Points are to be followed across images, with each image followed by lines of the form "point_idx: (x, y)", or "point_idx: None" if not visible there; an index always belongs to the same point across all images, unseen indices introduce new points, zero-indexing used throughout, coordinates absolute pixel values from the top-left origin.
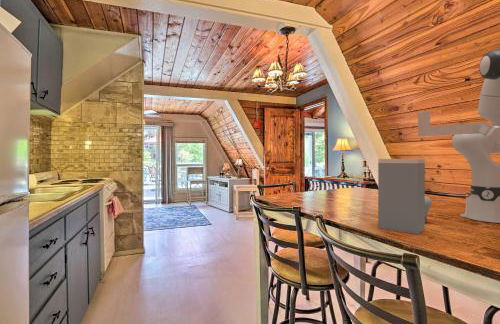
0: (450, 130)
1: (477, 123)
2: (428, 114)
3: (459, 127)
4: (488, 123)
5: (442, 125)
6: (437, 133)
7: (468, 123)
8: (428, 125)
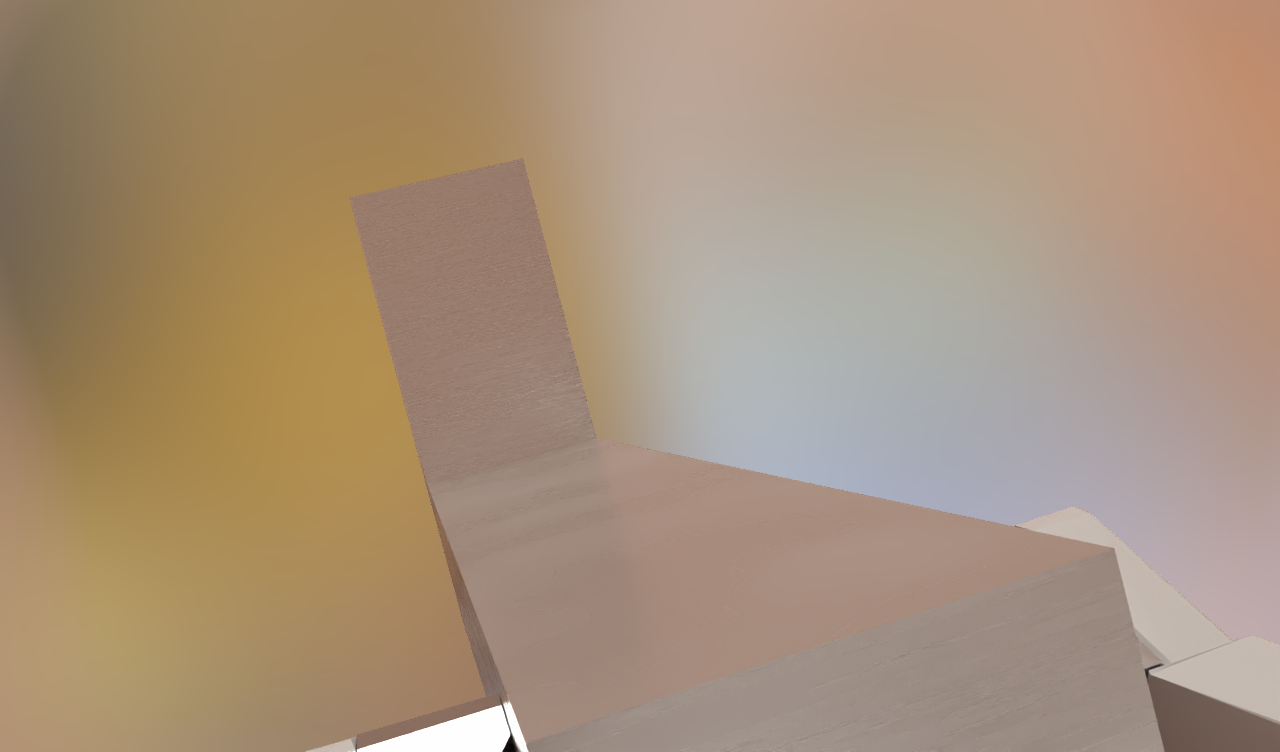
0: (481, 669)
1: (495, 671)
2: (391, 245)
3: (478, 650)
4: (1096, 597)
5: (440, 507)
6: (476, 661)
7: (470, 585)
8: (440, 459)
